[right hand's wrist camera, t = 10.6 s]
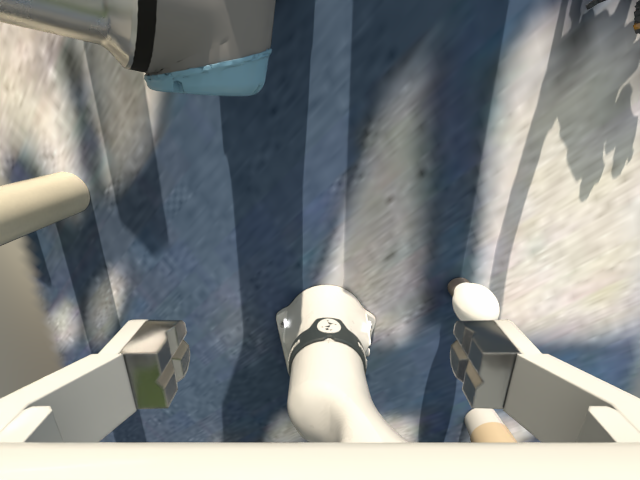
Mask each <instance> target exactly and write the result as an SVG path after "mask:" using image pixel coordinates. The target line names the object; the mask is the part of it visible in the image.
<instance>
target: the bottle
mask: <svg viewBox="0 0 640 480" xmlns="http://www.w3.org/2000/svg"><path fill="white" fill-rule="evenodd" d="M89 201H90V194H89V191H88V188H87V186H86V185H85V183H84V182H83V181H82V180H81V179H80V178H78V177H77V176H75V175H73V174H71V173H68V172H57V173H53V174H49V175H44V176H40V177H36V178H32V179H27V180H23V181H19V182H14V183H10V184H6V185H1V186H0V246H1V245H4V244H6V243H9V242H11V241H13V240H16V239H18V238H20V237H23V236H25V235H28V234H30V233H32V232H35V231H37V230H39V229H42V228H44V227H47V226H49V225H51V224H54V223H56V222H58V221H61V220H63V219H66V218H68V217H70V216H73V215H75V214H78V213H80V212H82V211H84V210H85V209H86V208H87V206H88V205H89Z"/></svg>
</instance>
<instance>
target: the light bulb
mask: <svg viewBox="0 0 640 480" xmlns="http://www.w3.org/2000/svg"><path fill="white" fill-rule="evenodd" d="M448 291H449V293H450V294H451V295H452V297H453V300H452V304H453V309H454V311H455V313H456V315H457V317H458V318H459V319H460V320H461V321H476V320H497V319H498V317H499V313H500V308H499V303H498V301H497V299H496V297H495V296H494V294H493V293H492V292H491V291H490V290H489V289H487V288H486V287H484V286H482V285H479V284H474V283H470V282H469V281H468V280H467V279H465V278H456V279H453V280H452V281H451V282H450V283H449V284H448Z"/></svg>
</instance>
